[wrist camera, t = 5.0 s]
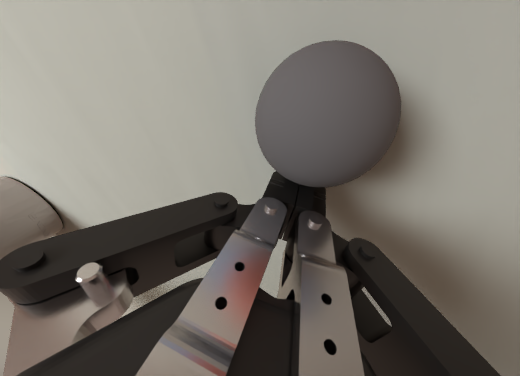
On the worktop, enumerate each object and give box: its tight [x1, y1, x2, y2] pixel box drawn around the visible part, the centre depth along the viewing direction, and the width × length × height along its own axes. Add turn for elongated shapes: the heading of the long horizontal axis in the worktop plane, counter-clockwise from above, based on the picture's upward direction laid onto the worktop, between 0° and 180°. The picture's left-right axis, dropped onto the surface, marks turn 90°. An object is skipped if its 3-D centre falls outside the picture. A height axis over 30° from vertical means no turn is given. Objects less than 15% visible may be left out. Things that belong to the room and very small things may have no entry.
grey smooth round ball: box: [255, 40, 401, 187], centre depth 8 cm, size 6×6×6 cm
